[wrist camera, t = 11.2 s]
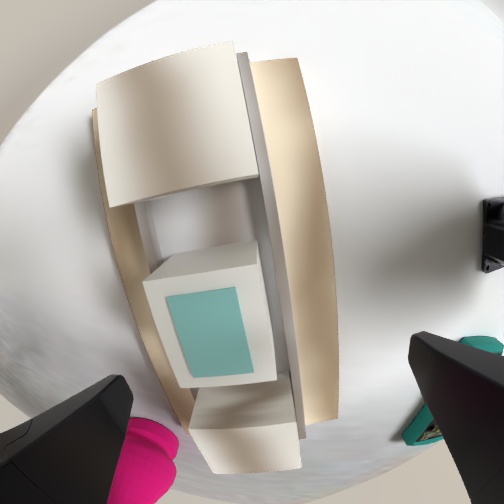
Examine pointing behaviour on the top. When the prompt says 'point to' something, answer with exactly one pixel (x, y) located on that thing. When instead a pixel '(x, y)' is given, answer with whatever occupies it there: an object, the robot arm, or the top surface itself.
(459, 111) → the top surface
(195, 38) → the top surface
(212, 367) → the block
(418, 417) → the digital multimeter
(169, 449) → the pepper mill
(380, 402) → the top surface
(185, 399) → the rail panel
